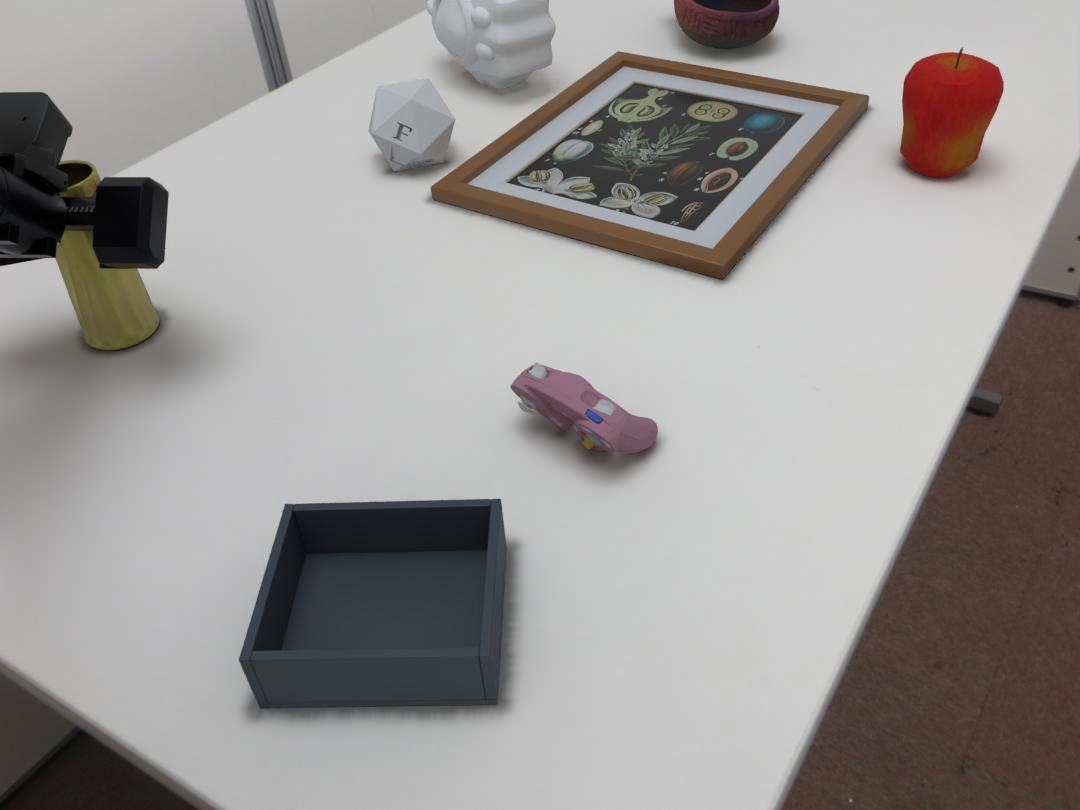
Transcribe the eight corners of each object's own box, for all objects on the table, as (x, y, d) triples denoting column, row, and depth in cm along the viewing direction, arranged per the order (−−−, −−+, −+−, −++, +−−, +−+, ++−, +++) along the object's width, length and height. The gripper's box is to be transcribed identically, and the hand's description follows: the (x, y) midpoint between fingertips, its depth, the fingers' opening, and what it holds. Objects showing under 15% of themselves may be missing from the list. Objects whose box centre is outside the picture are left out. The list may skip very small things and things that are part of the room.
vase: (95, 312, 85) (29, 161, 75) (166, 304, 85) (110, 152, 76) (77, 355, 80) (5, 199, 71) (153, 347, 80) (91, 190, 71)
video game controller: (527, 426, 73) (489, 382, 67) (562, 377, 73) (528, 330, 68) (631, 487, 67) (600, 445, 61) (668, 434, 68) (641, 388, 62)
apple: (996, 161, 96) (1028, 41, 88) (958, 195, 91) (989, 72, 84) (913, 138, 100) (937, 22, 93) (873, 170, 96) (895, 50, 88)
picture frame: (429, 186, 95) (617, 50, 119) (431, 199, 96) (617, 62, 120) (723, 265, 82) (870, 94, 106) (722, 280, 83) (867, 107, 106)
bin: (259, 708, 54) (238, 660, 51) (300, 552, 62) (284, 503, 59) (497, 704, 53) (490, 656, 50) (506, 547, 62) (501, 498, 59)
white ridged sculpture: (493, 48, 126) (481, -87, 115) (572, 92, 114) (566, -54, 104) (417, 70, 122) (397, -68, 111) (491, 118, 110) (477, -31, 99)
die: (357, 167, 104) (350, 119, 94) (392, 99, 106) (388, 45, 97) (431, 199, 104) (432, 154, 94) (464, 129, 106) (468, 79, 97)
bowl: (787, 30, 125) (794, -36, 120) (762, 68, 116) (768, -1, 111) (666, 19, 130) (668, -45, 125) (634, 55, 121) (634, -12, 116)
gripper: (111, 70, 63) (218, 151, 78) (-154, 74, 65) (2, 151, 81) (99, 241, 62) (210, 288, 78) (-168, 239, 64) (-9, 285, 80)
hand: (101, 249), depth 79 cm, fingers open, 7 cm apart
